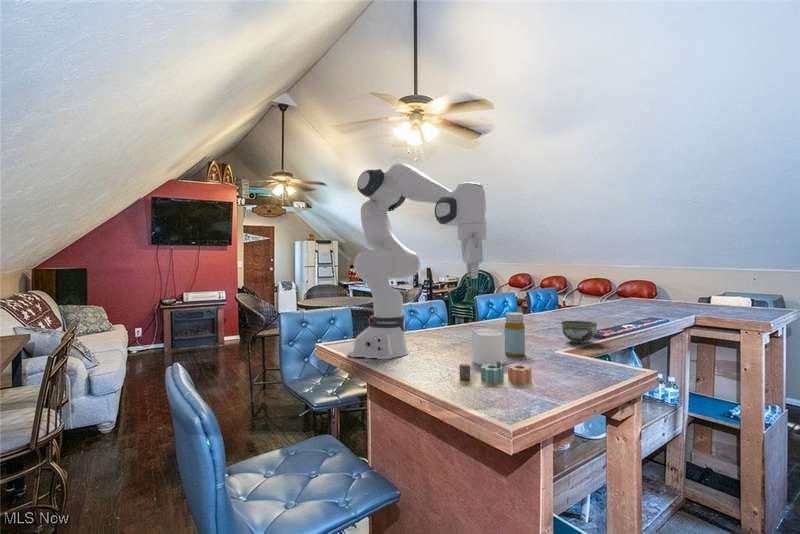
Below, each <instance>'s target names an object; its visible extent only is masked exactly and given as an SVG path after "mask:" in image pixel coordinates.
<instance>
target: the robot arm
mask: <svg viewBox="0 0 800 534" xmlns="http://www.w3.org/2000/svg"><path fill="white" fill-rule="evenodd" d="M356 185H357V190H358V192H359V193H360V194H361V195H363V196H365V197H366V198H369V199H368V200H367V201H365V202H364V203H363V204H361V207H360V220H361V227H362V230H363V231H362V232H363V234H364V238H365V242H366V244H367V245H368V246H369V247H370V248H371V249H370V250H364V251H360V252H358V253H357V255H355V258H354V261H353V270H354V272H355V275H356V276H357V277H358V278H359V279H361V280H362V281H363V282H364V283H365V284H366V285H367V287H368V288H369V290H370V293H371V296H372V303H373V315H370V316H369V318H368V327H366V328H365V329H364V330H363V331H361V333H359V334H358V335H357V336H356V337H355V340H354V343H353V348H351V349H350V350H349V351H348V352H347V356H348V355H349V356H351V357H350V358H354V357H365V358H364V359H370V358H377V359H376V360H391V359H394V358H399V357H400V358H401V357H403V356H404V357H405V356H406V355H408V354H409V350H408V347H407V342H406V336H405V329H406V320H405V315H404V297H403V295H402V293H401V292H400V291H399V290H397V289H395V288H393V287H392V286H391V285H390V282H389V280H395V279H396V280H398V279H407V278H411V277H414V276H416V275H417V274H418V272H419V271H420V266H421V263H420V257H419V256H418V254H417V253H416V252H415V251H413V250H410V248H408V247H406V246H405V245H404V244H403V243H402V242H401V241H400V240H399V239H398V238H397V236H396V234H395V233H394V231H393V228H392V224H391V223H390V219H389V215H388V212H393V211H394V210H396V209H397V208H399V207H400V206H401V205H403V203H404V202H405V201H406V199H407V200H410V201H412V202H419V203H428V204H435V206H434V215H435V216H434V218H435V219H436V221H437V222H438V223H439V224H441V225H444V226H452V227H457V240H459V242H460V245H461V246H460V247H461V256H462V261H463V263H464V264H466V270H467V272H466V273H467V277H468V278H471V279H473V280H475V279H477V280H478V278H479V269H480V264H482V263H483V262H484V260H483V259H484V255H483V253H484V252H483V249H484V248H483V240H485V239H487V222H486V210H487V202H486V193H485V189H484V187H483V185H482V184H481V183H477V182H469V181H468V182H467V181H465V182H460V183H459V184H458V185H457V187H456V189H454V190H451V189H449V188H447V187H445V186H443V185H442V184H440V183H439V182H437V181H435V180H433V179H432V178H430V177H429V176H427V175H426V174H424V173H423V172H421V171H420V170H418V169H417V168H415V167H413V166H411V165H408V164H406V163H399V162H398V163H395V164H393V165H391V167H389V169H388V170H387V171H386V172H383V170H382V169H379V168H378V169H366V170H365V171H363V172H361V174H360V175H359V177H358V179H357V184H356ZM349 356H348V357H349Z"/></svg>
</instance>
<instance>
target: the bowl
mask: <svg viewBox="0 0 800 534" xmlns="http://www.w3.org/2000/svg"><path fill="white" fill-rule="evenodd" d="M560 324H561V330H562V334H563V335H564V336H565V338H567V339H568V340H569V341H570V343H571V342H572V344H575V343H587V344H588V342H589V341H590V340H592V339H593V338H594V337H595V335H596V333H597V327H598V323H596V322H593V321H587V320H586V321H585V320H563V321H561V322H560Z"/></svg>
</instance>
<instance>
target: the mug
mask: <svg viewBox="0 0 800 534" xmlns="http://www.w3.org/2000/svg"><path fill="white" fill-rule="evenodd" d="M471 337H472V339H471V340H472V363H474V364H476V365H487V364H491V365H497V361H499V362H500V366H502V365H503V364H505V332H504V331H500V330H497V329H495V330H493V329H479V330H474V331H472V336H471Z"/></svg>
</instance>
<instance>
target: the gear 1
mask: <svg viewBox="0 0 800 534" xmlns="http://www.w3.org/2000/svg"><path fill="white" fill-rule="evenodd" d="M489 365H491V364H487V365H481V366H480V373H481V381H485V382H486V383H489V382H490V383H498V382H503V380H504V374H505V373H504V366H502V365H500V362H499V361H497V365H495V368H489Z"/></svg>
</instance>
